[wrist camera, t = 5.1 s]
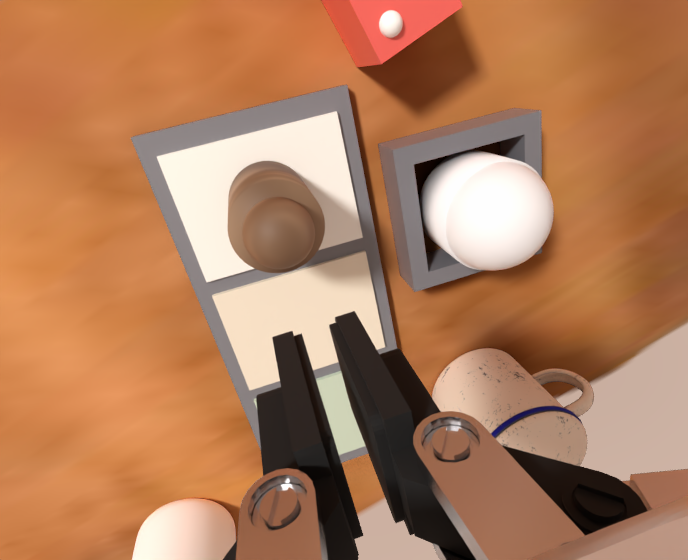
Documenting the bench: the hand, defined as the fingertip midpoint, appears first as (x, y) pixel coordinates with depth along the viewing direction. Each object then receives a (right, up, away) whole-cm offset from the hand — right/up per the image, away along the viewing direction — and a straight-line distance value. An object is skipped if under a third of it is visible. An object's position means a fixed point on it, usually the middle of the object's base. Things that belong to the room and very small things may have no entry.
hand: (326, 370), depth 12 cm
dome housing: (+8, +9, +20) cm, 24 cm away
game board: (-3, 0, +22) cm, 22 cm away
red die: (+2, +19, +14) cm, 24 cm away
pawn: (-4, +7, +16) cm, 19 cm away
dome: (+9, +8, +19) cm, 22 cm away
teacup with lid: (+14, -7, +29) cm, 32 cm away
